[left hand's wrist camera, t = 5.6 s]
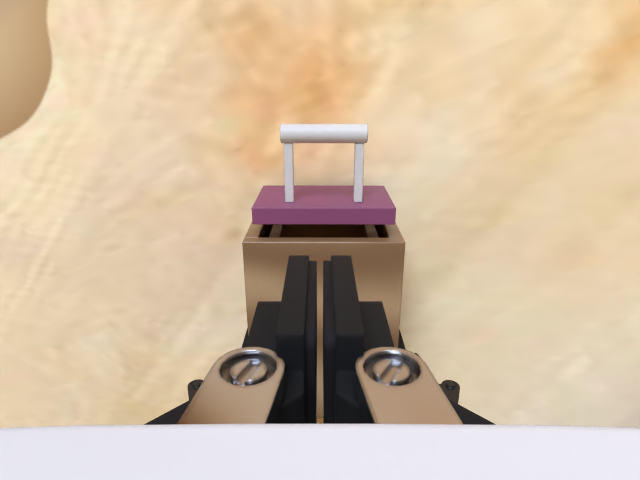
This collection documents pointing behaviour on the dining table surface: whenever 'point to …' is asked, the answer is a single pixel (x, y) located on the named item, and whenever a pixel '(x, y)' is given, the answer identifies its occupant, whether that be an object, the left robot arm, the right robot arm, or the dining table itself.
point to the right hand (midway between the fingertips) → (323, 336)
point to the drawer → (323, 193)
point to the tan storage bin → (368, 264)
